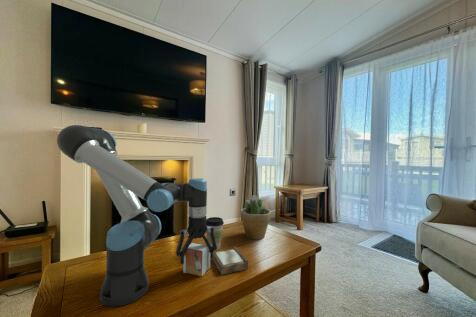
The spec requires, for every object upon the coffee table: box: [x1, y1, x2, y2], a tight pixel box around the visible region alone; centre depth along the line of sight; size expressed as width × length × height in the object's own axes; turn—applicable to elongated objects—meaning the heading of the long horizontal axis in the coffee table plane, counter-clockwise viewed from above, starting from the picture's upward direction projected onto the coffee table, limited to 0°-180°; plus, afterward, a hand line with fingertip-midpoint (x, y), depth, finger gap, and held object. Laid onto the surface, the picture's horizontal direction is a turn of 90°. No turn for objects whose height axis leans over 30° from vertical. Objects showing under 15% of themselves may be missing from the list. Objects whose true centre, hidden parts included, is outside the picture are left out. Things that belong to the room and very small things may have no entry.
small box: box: [185, 242, 209, 277], centre depth 87 cm, size 8×6×10 cm
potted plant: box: [240, 194, 272, 241], centre depth 127 cm, size 18×19×25 cm
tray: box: [211, 246, 249, 275], centre depth 94 cm, size 12×14×4 cm
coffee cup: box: [205, 216, 225, 251], centre depth 110 cm, size 10×10×15 cm
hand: (196, 268), depth 87 cm, fingers closed on small box, 9 cm apart
